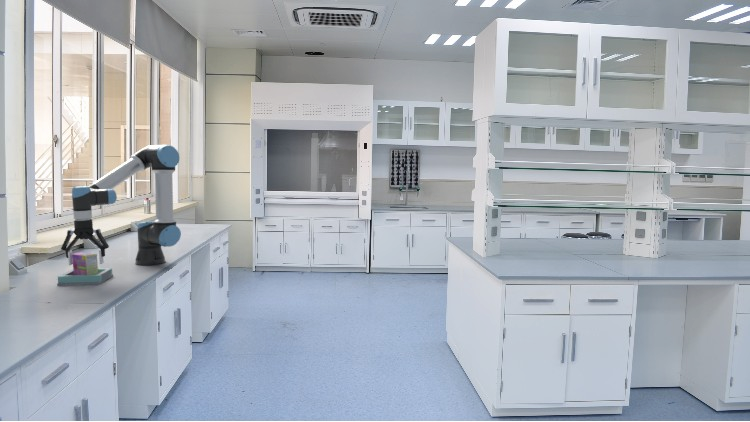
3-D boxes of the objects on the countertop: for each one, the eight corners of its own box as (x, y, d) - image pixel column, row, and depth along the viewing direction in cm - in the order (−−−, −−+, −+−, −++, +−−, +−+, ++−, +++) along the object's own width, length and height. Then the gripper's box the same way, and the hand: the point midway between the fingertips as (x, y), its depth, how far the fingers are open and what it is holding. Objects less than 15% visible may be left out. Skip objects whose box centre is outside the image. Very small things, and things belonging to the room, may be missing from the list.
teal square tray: (113, 275, 258) (112, 267, 258) (99, 284, 240) (98, 275, 240) (73, 276, 255) (73, 268, 255) (57, 285, 238) (56, 277, 237)
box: (73, 278, 248) (71, 253, 247) (84, 276, 253) (83, 251, 252) (87, 280, 243) (85, 255, 242) (98, 278, 248) (97, 253, 247)
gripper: (114, 217, 250) (117, 261, 253) (58, 219, 247) (61, 263, 249) (108, 219, 243) (111, 264, 246) (50, 221, 240) (54, 266, 242)
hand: (86, 264), depth 247 cm, fingers open, 13 cm apart
